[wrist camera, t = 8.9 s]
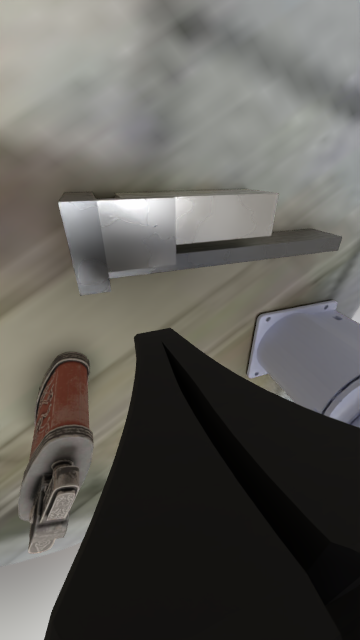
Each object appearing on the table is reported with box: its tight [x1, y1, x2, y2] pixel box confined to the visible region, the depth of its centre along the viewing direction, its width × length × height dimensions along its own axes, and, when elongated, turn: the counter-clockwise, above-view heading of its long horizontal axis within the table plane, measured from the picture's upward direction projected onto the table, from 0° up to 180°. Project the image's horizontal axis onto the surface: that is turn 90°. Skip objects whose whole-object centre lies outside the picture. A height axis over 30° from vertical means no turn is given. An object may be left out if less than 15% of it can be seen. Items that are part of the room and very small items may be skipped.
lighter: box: [18, 352, 93, 554], centre depth 17 cm, size 8×3×10 cm, turn 153°
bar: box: [115, 189, 279, 245], centre depth 15 cm, size 9×2×4 cm, turn 90°
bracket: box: [58, 192, 342, 296], centre depth 16 cm, size 18×4×5 cm, turn 90°
